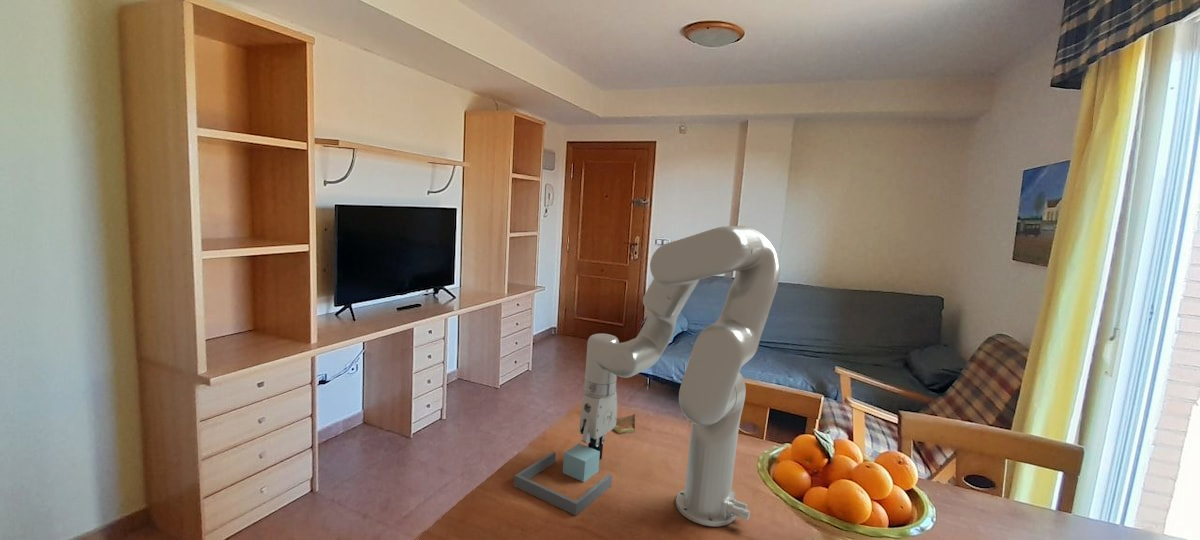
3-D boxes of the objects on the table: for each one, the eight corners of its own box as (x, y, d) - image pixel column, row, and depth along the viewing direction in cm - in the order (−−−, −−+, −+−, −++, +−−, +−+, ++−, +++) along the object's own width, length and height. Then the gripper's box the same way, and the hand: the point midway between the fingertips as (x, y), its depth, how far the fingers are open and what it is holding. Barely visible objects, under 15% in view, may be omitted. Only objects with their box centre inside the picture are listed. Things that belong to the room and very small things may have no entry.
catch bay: (611, 485, 113) (612, 475, 112) (575, 515, 101) (576, 504, 101) (552, 460, 122) (553, 451, 121) (513, 486, 110) (514, 475, 110)
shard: (634, 418, 150) (634, 412, 150) (652, 428, 144) (652, 422, 144) (605, 426, 143) (606, 420, 143) (623, 437, 137) (623, 431, 137)
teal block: (598, 471, 118) (600, 451, 118) (583, 482, 113) (585, 461, 113) (577, 462, 122) (579, 443, 121) (562, 472, 117) (564, 452, 116)
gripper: (595, 399, 111) (589, 477, 114) (629, 382, 124) (623, 452, 126) (568, 390, 115) (563, 465, 118) (603, 374, 128) (598, 442, 130)
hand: (594, 458), depth 122 cm, fingers closed
